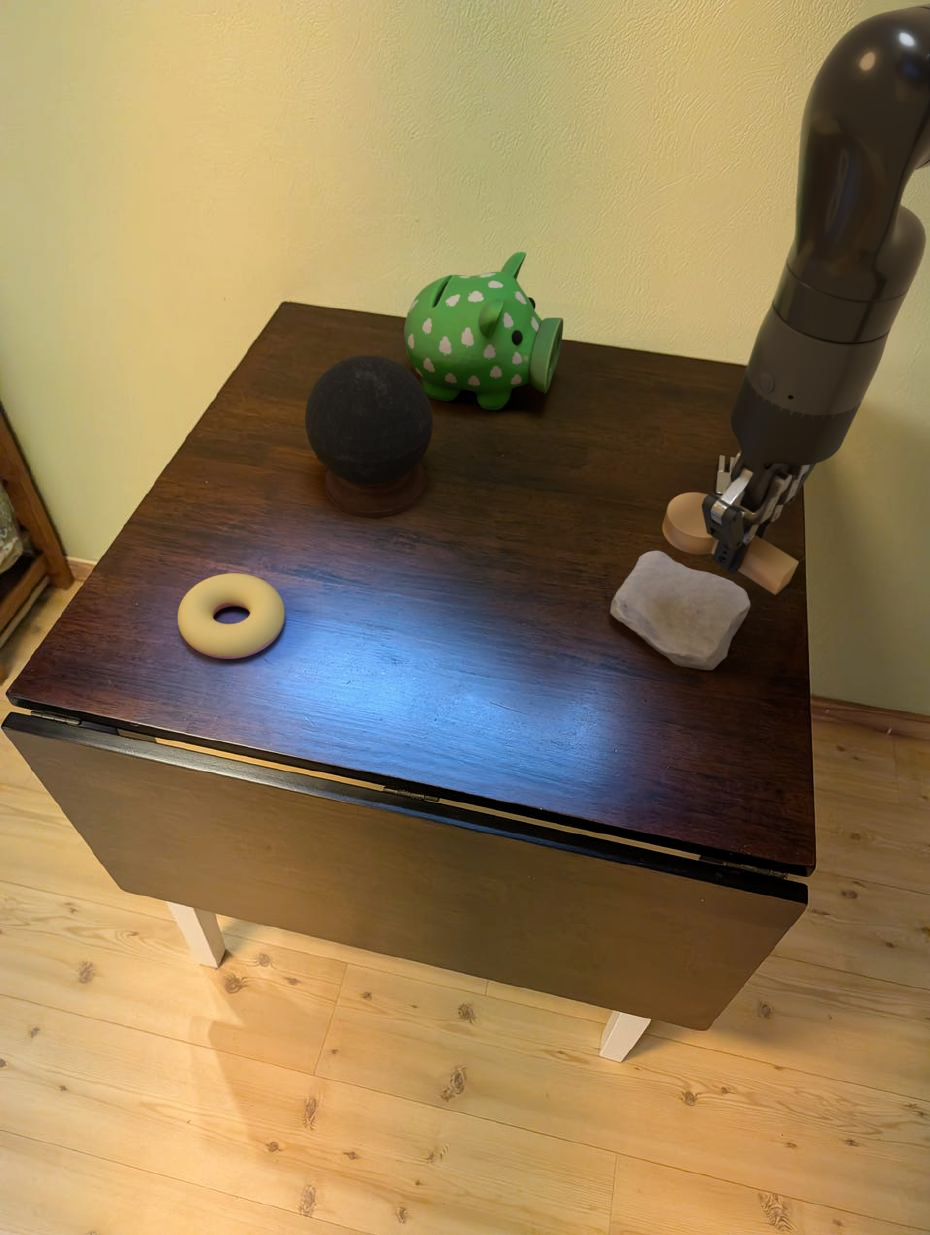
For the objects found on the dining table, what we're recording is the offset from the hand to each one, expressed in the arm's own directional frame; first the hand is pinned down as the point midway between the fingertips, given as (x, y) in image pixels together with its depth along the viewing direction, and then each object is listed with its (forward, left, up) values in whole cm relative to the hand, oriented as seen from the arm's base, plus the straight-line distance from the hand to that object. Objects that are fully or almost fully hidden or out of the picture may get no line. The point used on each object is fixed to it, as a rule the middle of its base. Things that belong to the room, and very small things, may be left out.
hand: (735, 556), depth 68 cm
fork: (+12, -19, -14) cm, 27 cm away
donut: (+29, +32, -15) cm, 46 cm away
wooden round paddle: (0, 0, 0) cm, 1 cm away
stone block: (+4, -2, -15) cm, 15 cm away
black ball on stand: (+38, +10, -15) cm, 42 cm away
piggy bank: (+45, -10, -15) cm, 49 cm away
